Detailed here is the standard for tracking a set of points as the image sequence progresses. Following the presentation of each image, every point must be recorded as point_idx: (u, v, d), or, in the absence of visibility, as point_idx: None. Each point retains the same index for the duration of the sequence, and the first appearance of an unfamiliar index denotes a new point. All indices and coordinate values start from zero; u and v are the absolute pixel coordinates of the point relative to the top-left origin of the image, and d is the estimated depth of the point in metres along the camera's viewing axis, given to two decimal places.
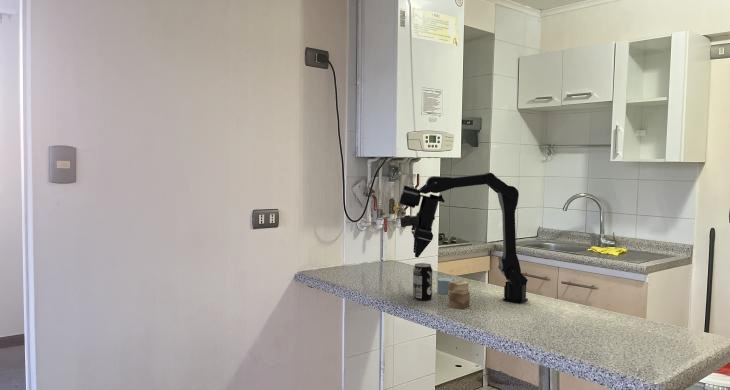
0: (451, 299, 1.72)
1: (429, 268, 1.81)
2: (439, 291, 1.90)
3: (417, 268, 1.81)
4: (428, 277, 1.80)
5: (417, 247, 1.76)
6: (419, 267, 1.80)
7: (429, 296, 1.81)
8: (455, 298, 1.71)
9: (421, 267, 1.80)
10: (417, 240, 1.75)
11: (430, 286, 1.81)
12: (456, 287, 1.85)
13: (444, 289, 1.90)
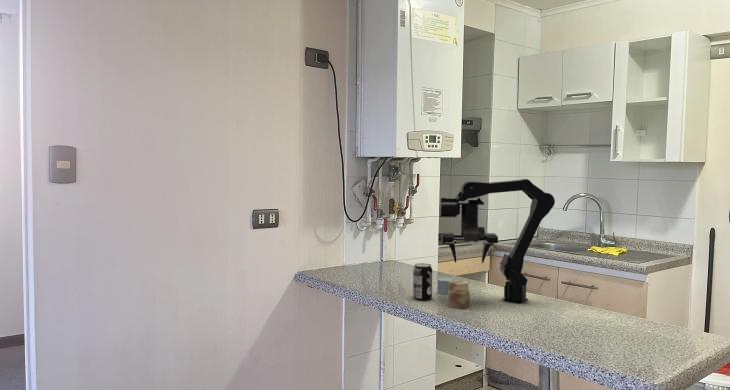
0: (451, 299, 1.72)
1: (429, 268, 1.81)
2: (439, 291, 1.90)
3: (417, 268, 1.81)
4: (428, 277, 1.80)
5: None
6: (419, 267, 1.80)
7: (429, 296, 1.81)
8: (455, 298, 1.71)
9: (421, 267, 1.80)
10: None
11: (430, 286, 1.81)
12: (456, 287, 1.85)
13: (444, 289, 1.90)
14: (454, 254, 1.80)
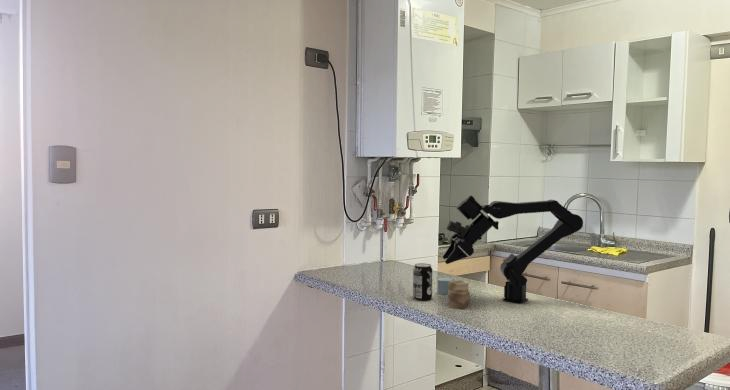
0: (451, 299, 1.72)
1: (429, 268, 1.81)
2: (439, 291, 1.90)
3: (417, 268, 1.81)
4: (428, 277, 1.80)
5: (452, 255, 1.76)
6: (419, 267, 1.80)
7: (429, 296, 1.81)
8: (455, 298, 1.71)
9: (421, 267, 1.80)
10: (456, 249, 1.75)
11: (430, 286, 1.81)
12: (456, 287, 1.85)
13: (444, 289, 1.90)
14: (447, 250, 1.87)
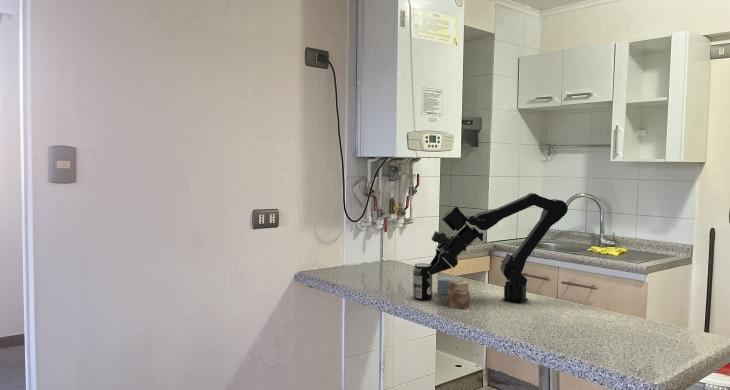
0: (451, 299, 1.72)
1: (429, 268, 1.81)
2: (439, 291, 1.90)
3: (417, 268, 1.81)
4: (428, 277, 1.80)
5: (436, 266, 1.76)
6: (419, 267, 1.80)
7: (429, 296, 1.81)
8: (455, 298, 1.71)
9: (421, 267, 1.80)
10: (440, 260, 1.76)
11: (430, 286, 1.81)
12: (456, 287, 1.85)
13: (444, 289, 1.90)
14: (432, 260, 1.87)
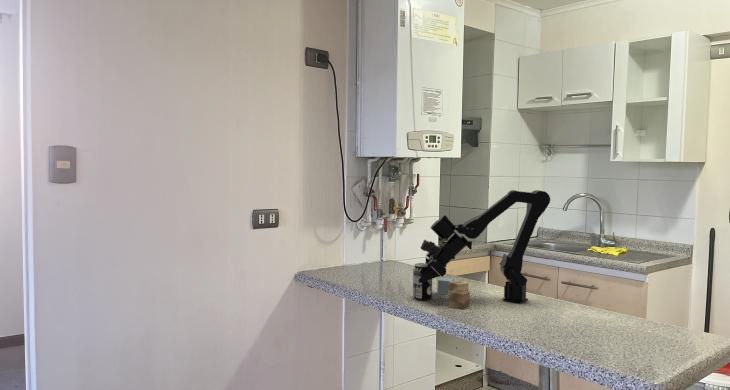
0: (451, 299, 1.72)
1: None
2: (439, 291, 1.90)
3: (417, 268, 1.81)
4: None
5: (425, 274, 1.78)
6: (419, 267, 1.80)
7: (429, 296, 1.81)
8: (455, 298, 1.71)
9: (421, 267, 1.80)
10: (429, 268, 1.77)
11: (430, 286, 1.81)
12: (456, 287, 1.85)
13: (444, 289, 1.90)
14: None
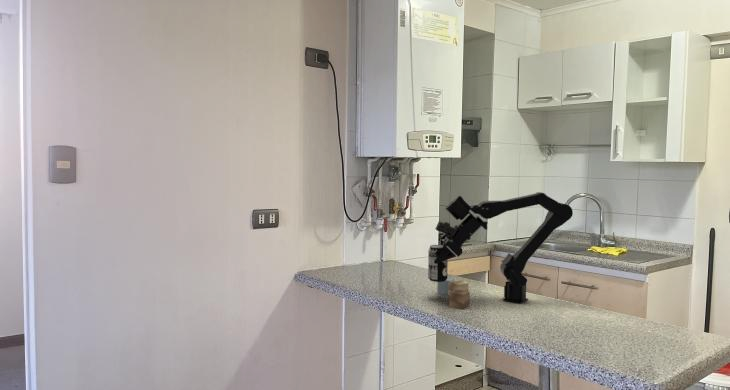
0: (451, 299, 1.72)
1: None
2: (439, 291, 1.90)
3: (432, 249, 1.80)
4: None
5: (440, 255, 1.77)
6: (434, 248, 1.79)
7: (445, 277, 1.80)
8: (455, 298, 1.71)
9: (436, 248, 1.79)
10: (444, 249, 1.76)
11: (446, 267, 1.80)
12: (456, 287, 1.85)
13: (444, 289, 1.90)
14: None
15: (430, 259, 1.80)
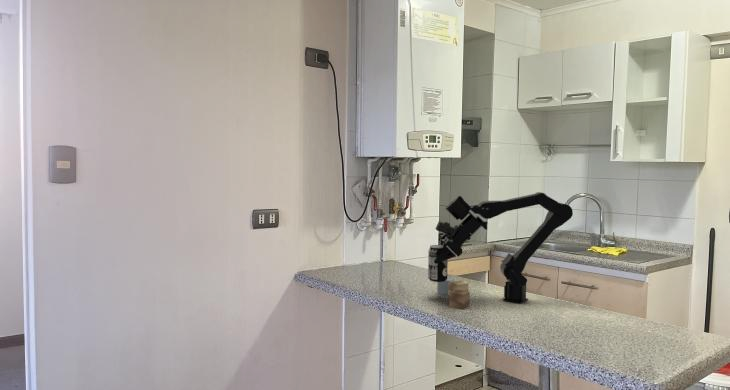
0: (451, 299, 1.72)
1: None
2: (439, 291, 1.90)
3: (432, 249, 1.80)
4: None
5: (440, 255, 1.77)
6: (434, 248, 1.79)
7: (445, 277, 1.80)
8: (455, 298, 1.71)
9: (437, 248, 1.79)
10: (444, 249, 1.76)
11: (446, 267, 1.80)
12: (456, 287, 1.85)
13: (444, 289, 1.90)
14: None
15: (430, 259, 1.80)
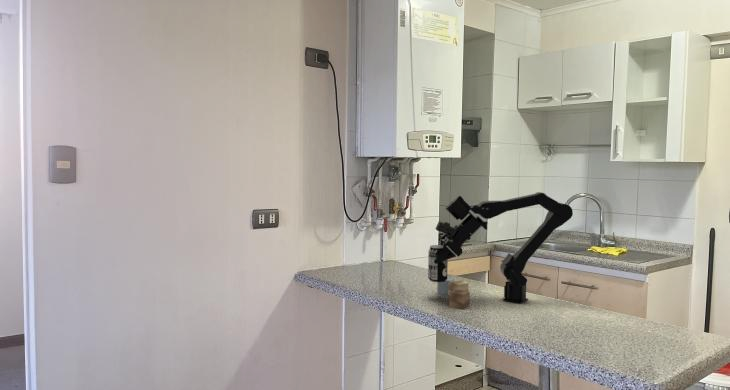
0: (451, 299, 1.72)
1: None
2: (439, 291, 1.90)
3: (432, 249, 1.80)
4: None
5: (440, 255, 1.77)
6: (435, 248, 1.79)
7: (445, 278, 1.80)
8: (455, 298, 1.71)
9: (437, 248, 1.79)
10: (444, 249, 1.76)
11: (445, 268, 1.80)
12: (456, 287, 1.85)
13: (444, 289, 1.90)
14: None
15: (430, 259, 1.80)
